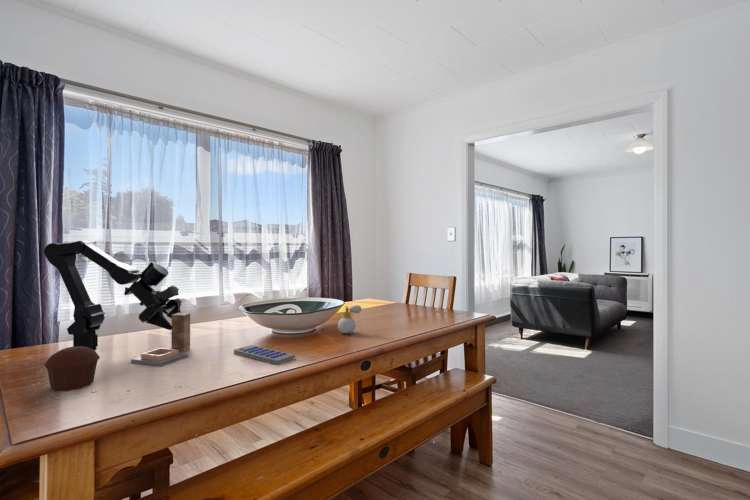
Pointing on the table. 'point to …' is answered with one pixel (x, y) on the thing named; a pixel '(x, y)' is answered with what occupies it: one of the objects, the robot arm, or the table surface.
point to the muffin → (72, 368)
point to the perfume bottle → (348, 320)
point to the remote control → (264, 354)
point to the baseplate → (159, 357)
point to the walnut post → (181, 331)
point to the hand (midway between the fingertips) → (178, 326)
